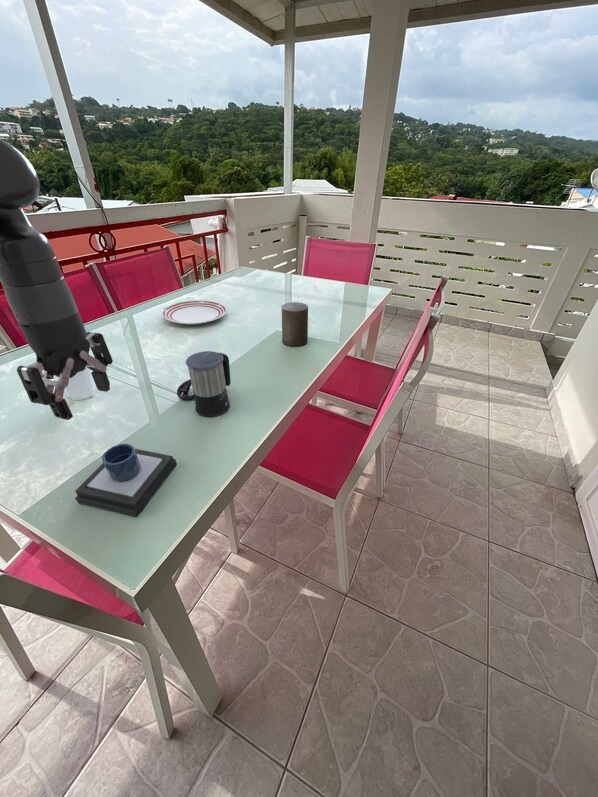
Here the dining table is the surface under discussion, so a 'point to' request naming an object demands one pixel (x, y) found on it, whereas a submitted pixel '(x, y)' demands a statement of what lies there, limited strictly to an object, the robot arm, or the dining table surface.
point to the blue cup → (121, 462)
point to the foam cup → (81, 385)
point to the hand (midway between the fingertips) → (86, 403)
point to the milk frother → (207, 383)
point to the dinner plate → (194, 312)
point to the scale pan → (129, 486)
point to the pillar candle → (294, 324)
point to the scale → (121, 502)
